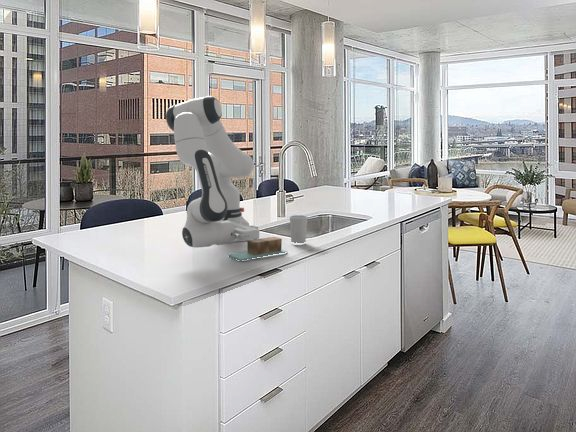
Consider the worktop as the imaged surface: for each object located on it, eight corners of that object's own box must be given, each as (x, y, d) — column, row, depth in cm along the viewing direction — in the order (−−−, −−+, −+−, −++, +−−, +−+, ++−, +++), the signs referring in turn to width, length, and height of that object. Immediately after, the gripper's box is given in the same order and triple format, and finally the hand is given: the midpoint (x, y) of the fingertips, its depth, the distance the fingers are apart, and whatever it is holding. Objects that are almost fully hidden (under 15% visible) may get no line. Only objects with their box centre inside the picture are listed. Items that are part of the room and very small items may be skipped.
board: (240, 261, 191) (240, 259, 191) (228, 256, 198) (228, 254, 198) (287, 253, 204) (287, 251, 204) (274, 249, 211) (274, 247, 211)
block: (254, 242, 196) (281, 238, 204) (247, 240, 200) (274, 236, 208) (254, 255, 197) (281, 250, 205) (247, 252, 201) (274, 248, 209)
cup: (311, 244, 222) (311, 217, 220) (298, 246, 217) (298, 219, 215) (298, 241, 228) (299, 214, 226) (285, 243, 223) (285, 216, 220)
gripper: (239, 228, 182) (271, 224, 190) (212, 219, 198) (242, 216, 206) (239, 245, 183) (271, 241, 191) (212, 235, 199) (242, 231, 207)
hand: (256, 228), depth 199 cm, fingers closed
